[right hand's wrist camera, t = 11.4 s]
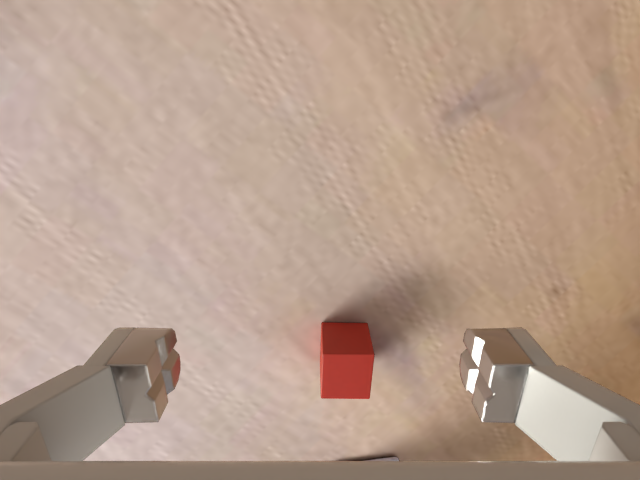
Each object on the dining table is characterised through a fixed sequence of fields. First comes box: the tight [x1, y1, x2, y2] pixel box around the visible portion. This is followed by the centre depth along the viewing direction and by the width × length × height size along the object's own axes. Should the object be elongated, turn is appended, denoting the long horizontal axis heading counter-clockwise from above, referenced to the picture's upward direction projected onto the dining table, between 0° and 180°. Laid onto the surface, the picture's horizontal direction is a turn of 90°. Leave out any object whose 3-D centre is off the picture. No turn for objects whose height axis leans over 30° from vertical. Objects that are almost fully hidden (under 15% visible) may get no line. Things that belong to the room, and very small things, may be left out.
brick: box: [320, 322, 374, 399], centre depth 34 cm, size 5×4×4 cm
